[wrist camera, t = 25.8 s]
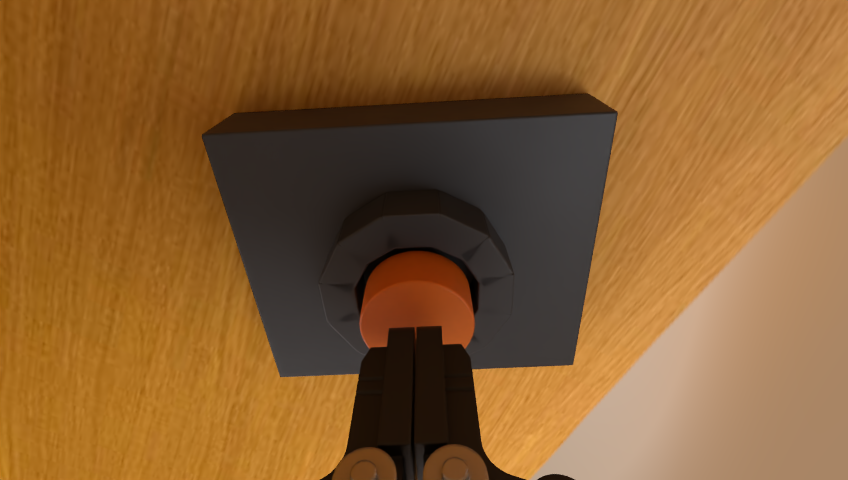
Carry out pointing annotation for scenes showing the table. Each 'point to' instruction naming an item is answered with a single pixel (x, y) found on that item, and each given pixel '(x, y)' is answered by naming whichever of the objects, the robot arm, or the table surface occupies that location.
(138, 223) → the table surface
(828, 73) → the table surface
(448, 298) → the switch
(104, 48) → the table surface
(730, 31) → the table surface
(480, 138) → the button base
